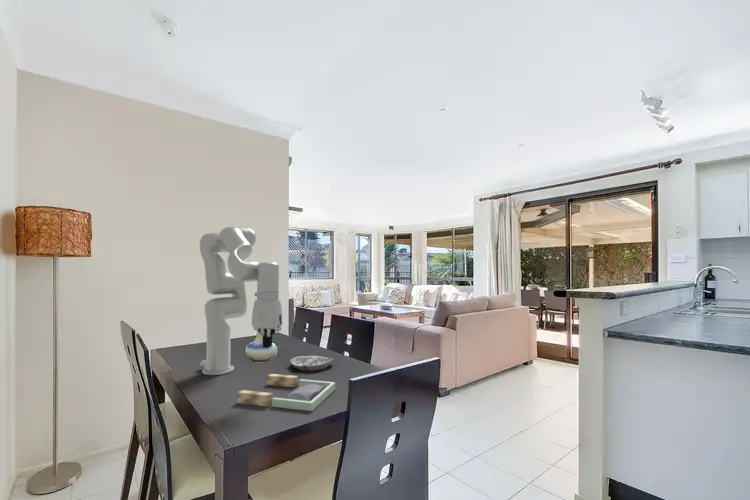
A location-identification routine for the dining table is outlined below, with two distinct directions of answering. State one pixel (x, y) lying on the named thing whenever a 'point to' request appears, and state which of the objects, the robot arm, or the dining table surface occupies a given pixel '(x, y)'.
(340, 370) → the dining table surface
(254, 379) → the dining table surface
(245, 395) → the blocks
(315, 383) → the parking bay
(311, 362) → the brain slice
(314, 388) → the stone block
